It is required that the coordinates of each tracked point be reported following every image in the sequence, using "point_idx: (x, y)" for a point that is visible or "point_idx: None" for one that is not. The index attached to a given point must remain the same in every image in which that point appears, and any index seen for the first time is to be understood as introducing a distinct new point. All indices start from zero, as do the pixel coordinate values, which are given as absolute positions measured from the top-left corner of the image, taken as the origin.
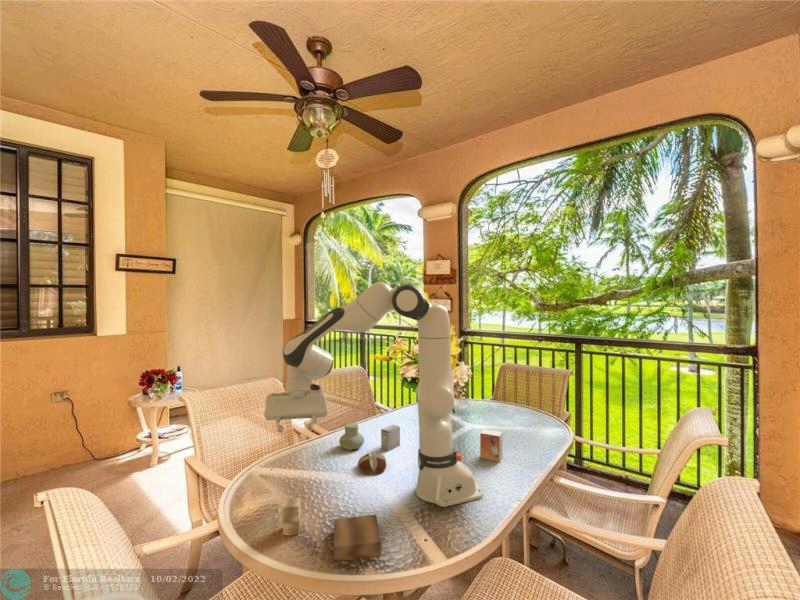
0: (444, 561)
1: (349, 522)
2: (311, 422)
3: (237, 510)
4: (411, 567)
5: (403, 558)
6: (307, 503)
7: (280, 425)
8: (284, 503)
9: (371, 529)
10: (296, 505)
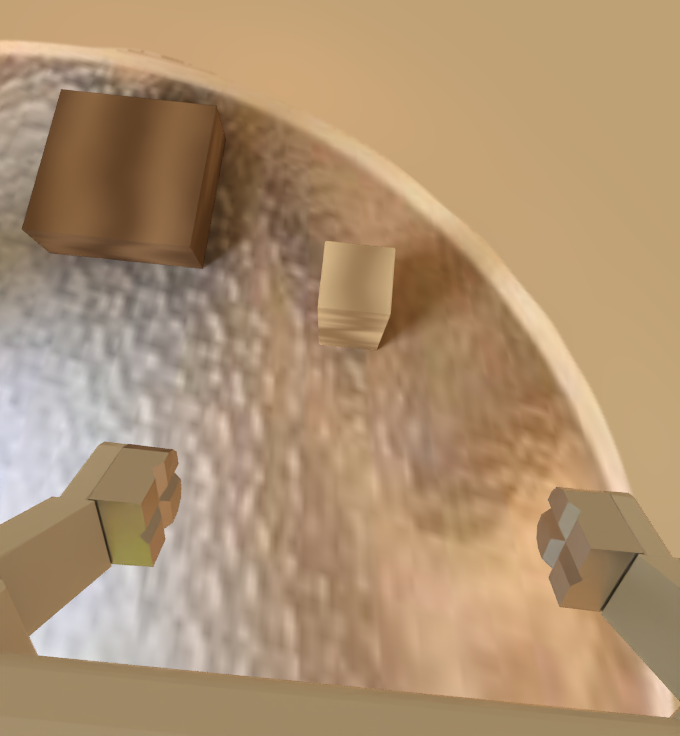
0: None
1: (136, 210)
2: (78, 501)
3: None
4: (19, 60)
5: (25, 95)
6: (287, 491)
7: (618, 541)
8: (389, 279)
9: (70, 152)
10: (334, 248)
